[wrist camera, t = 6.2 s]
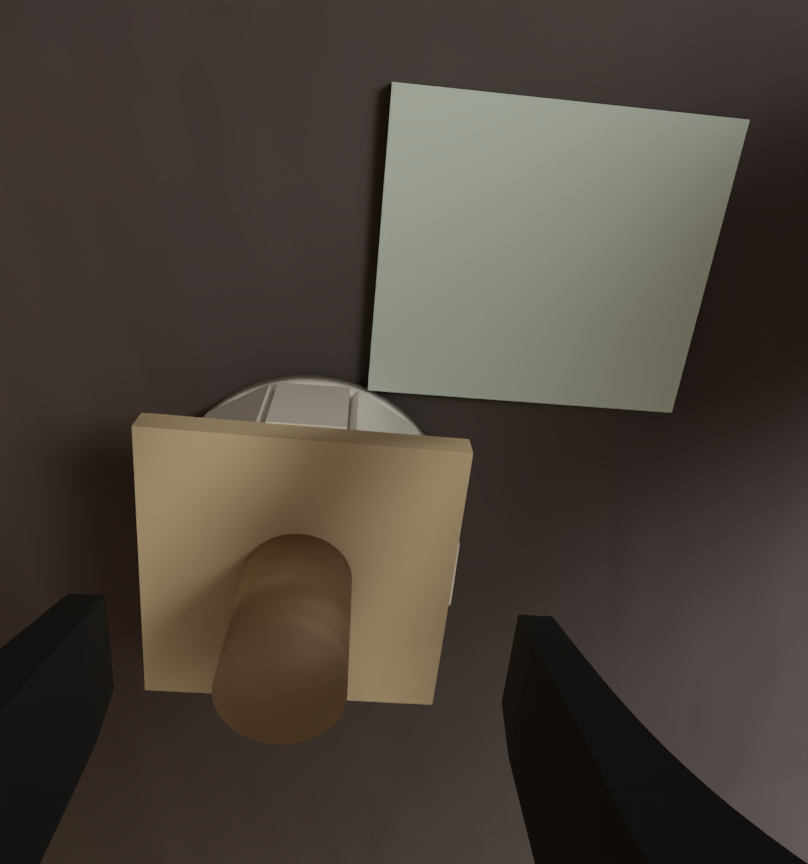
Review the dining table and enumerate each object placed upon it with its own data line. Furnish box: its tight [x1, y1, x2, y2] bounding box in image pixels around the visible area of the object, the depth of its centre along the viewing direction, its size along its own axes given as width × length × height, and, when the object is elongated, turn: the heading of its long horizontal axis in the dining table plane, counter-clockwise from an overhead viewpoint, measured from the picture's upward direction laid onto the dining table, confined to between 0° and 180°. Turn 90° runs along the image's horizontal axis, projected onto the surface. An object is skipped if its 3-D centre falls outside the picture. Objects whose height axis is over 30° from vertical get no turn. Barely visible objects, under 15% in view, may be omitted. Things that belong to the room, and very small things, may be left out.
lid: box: [132, 413, 473, 745], centre depth 17 cm, size 8×8×5 cm
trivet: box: [368, 82, 750, 413], centre depth 20 cm, size 9×8×1 cm
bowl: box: [202, 375, 460, 605], centre depth 21 cm, size 8×8×4 cm
